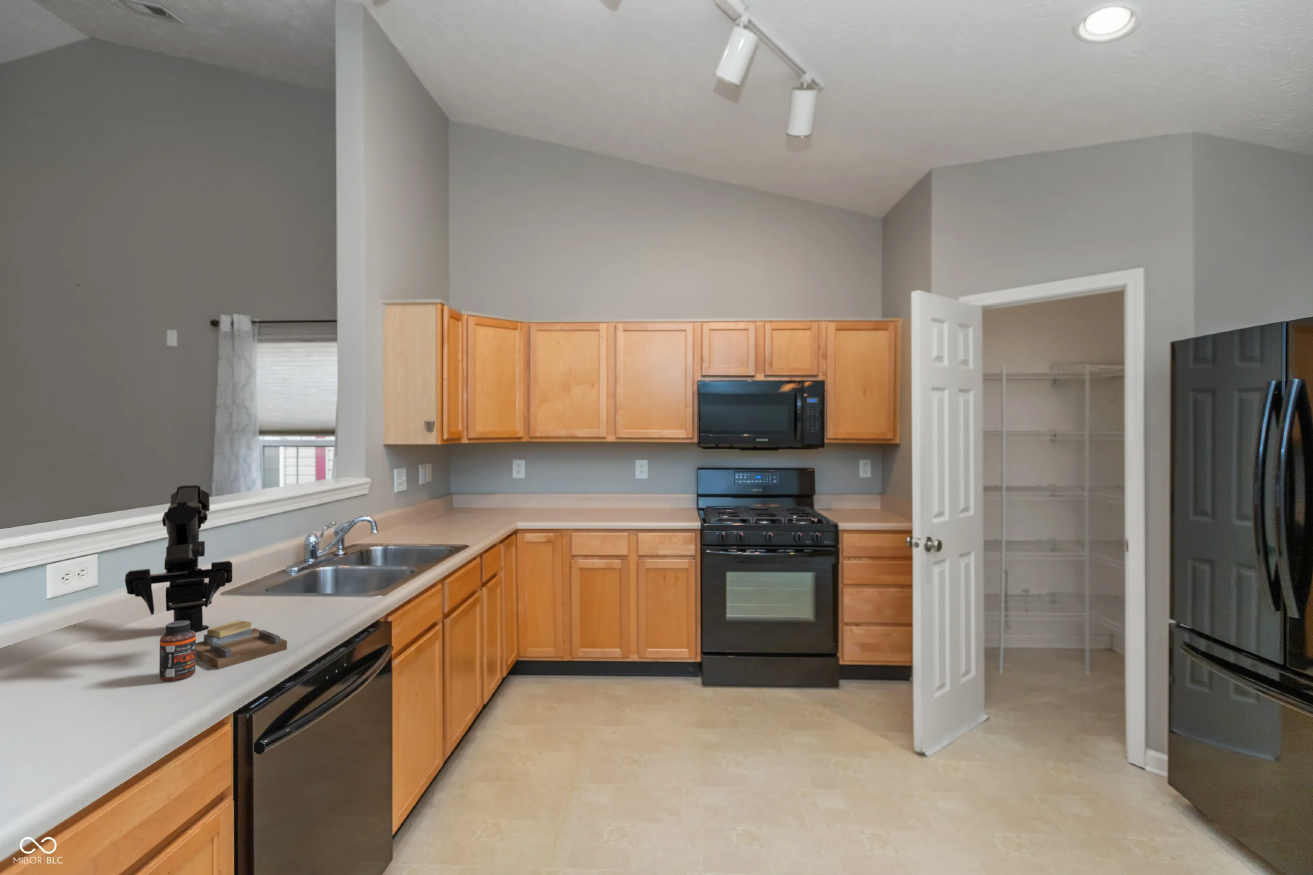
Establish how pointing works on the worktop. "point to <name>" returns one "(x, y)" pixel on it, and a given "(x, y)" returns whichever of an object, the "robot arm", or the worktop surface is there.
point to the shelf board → (236, 644)
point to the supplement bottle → (177, 652)
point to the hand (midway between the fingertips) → (179, 609)
